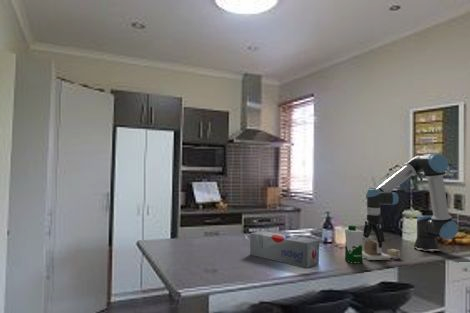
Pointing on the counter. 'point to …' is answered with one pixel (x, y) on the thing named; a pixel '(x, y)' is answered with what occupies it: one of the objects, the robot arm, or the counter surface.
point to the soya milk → (353, 244)
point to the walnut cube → (371, 248)
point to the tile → (375, 256)
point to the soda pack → (285, 248)
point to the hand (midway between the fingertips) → (372, 250)
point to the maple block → (393, 253)
